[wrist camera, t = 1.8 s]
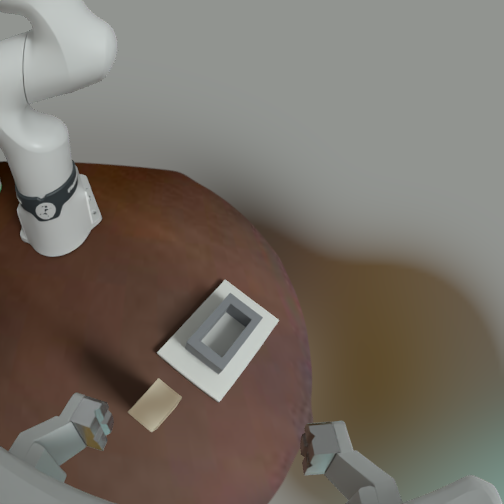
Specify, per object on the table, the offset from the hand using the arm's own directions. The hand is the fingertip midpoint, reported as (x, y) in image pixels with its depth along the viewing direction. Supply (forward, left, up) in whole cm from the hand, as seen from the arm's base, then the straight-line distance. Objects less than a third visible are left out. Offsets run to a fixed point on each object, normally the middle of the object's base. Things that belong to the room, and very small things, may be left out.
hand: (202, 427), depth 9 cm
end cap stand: (-11, +12, -32) cm, 36 cm away
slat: (-3, -2, -32) cm, 33 cm away
